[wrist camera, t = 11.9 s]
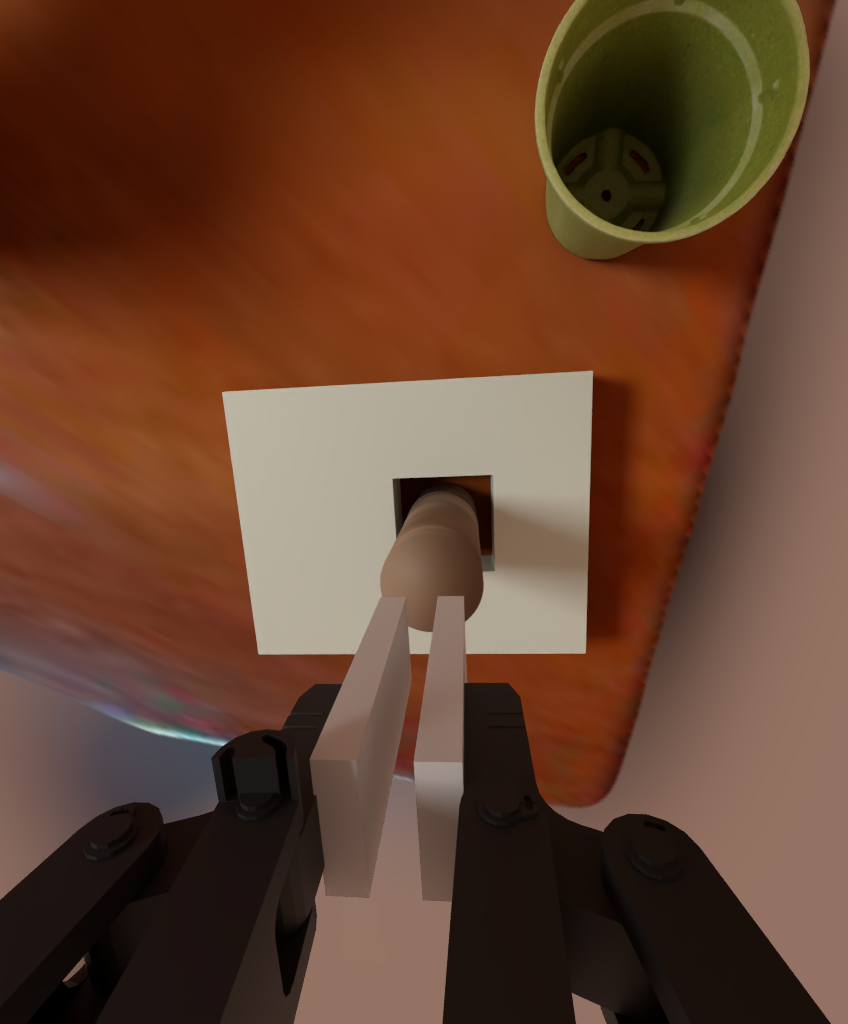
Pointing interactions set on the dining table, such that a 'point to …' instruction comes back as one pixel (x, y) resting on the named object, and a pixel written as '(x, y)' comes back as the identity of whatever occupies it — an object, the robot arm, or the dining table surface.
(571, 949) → the robot arm
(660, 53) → the plant pot
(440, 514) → the peg
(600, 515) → the dining table surface
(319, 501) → the board
